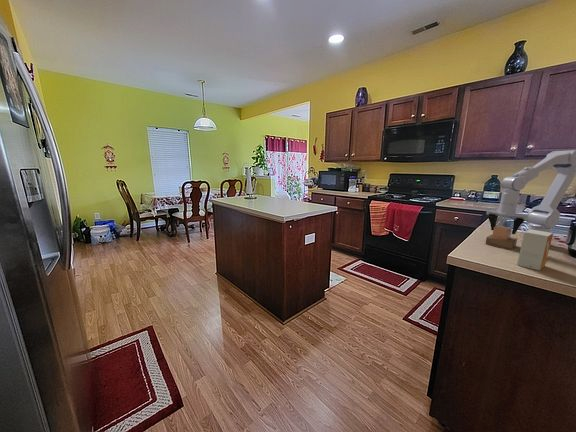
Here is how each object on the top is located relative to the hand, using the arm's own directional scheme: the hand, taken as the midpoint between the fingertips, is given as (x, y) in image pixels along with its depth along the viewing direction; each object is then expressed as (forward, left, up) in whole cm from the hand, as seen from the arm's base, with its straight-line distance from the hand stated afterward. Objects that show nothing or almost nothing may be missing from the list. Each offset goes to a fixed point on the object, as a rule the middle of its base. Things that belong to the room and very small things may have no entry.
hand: (502, 231), depth 111 cm
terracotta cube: (0, 0, -3) cm, 3 cm away
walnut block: (0, 0, -7) cm, 7 cm away
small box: (+20, +16, -7) cm, 26 cm away
